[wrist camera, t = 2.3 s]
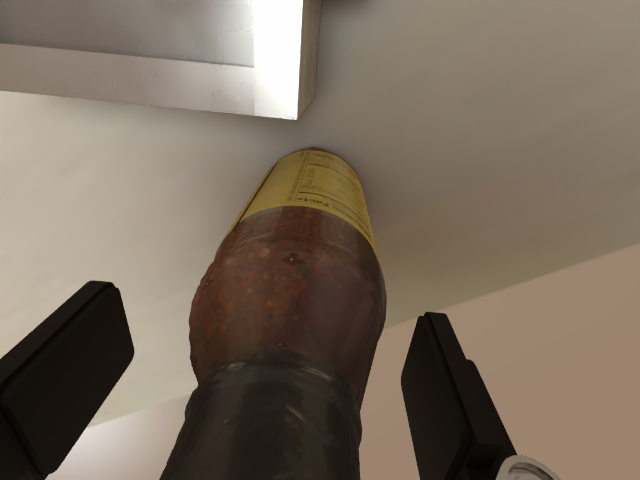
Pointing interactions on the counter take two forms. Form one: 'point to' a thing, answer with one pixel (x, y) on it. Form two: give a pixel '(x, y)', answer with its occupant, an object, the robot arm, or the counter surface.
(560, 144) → the counter surface
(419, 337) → the robot arm
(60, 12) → the grey square tray
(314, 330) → the sauce bottle
